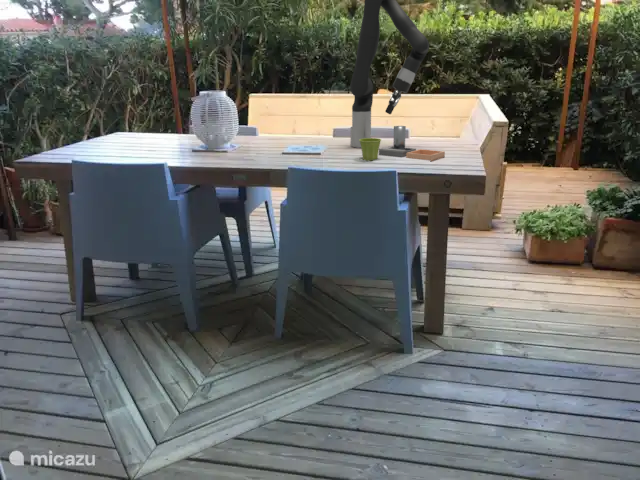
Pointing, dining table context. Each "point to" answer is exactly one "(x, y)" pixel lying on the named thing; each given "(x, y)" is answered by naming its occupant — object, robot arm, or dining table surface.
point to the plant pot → (370, 148)
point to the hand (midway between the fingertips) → (387, 113)
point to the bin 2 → (426, 154)
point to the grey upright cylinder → (399, 137)
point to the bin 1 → (395, 151)
